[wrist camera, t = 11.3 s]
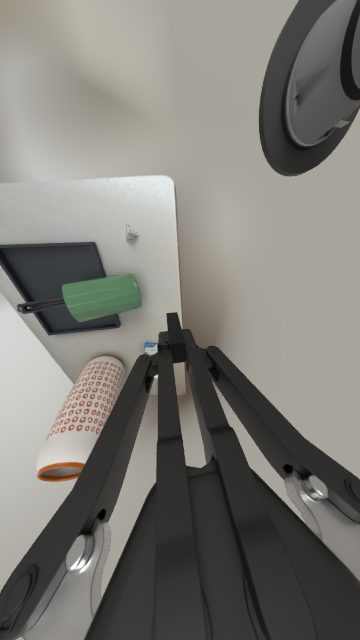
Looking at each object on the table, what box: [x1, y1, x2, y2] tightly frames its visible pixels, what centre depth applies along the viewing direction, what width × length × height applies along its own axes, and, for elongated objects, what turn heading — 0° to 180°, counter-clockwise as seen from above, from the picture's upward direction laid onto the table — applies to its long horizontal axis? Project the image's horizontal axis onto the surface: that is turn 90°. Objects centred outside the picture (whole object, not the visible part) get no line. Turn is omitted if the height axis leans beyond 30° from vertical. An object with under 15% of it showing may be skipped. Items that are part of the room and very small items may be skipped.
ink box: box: [144, 343, 158, 378], centre depth 44 cm, size 9×5×12 cm, turn 75°
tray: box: [0, 242, 121, 335], centre depth 34 cm, size 23×20×2 cm
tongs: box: [17, 296, 66, 314], centre depth 32 cm, size 2×11×21 cm
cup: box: [62, 273, 142, 322], centre depth 31 cm, size 9×9×14 cm
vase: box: [36, 355, 124, 482], centre depth 38 cm, size 13×13×28 cm
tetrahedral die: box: [126, 224, 139, 241], centre depth 30 cm, size 4×3×3 cm
